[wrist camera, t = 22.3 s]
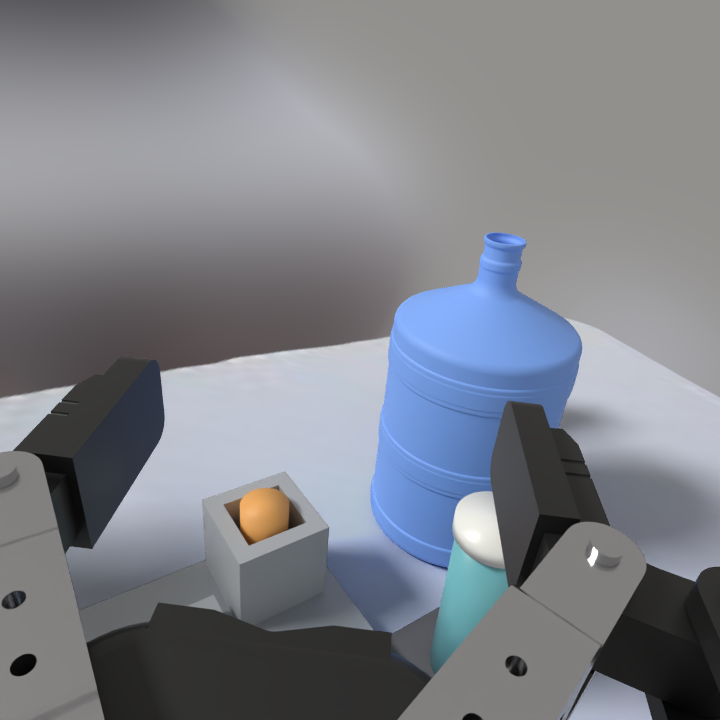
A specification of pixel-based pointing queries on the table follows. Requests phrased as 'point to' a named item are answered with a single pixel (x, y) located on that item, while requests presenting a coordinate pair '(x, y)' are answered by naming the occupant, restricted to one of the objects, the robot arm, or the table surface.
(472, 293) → the water jug
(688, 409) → the table surface
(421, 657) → the mat
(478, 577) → the cylinder
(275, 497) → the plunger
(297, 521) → the housing
